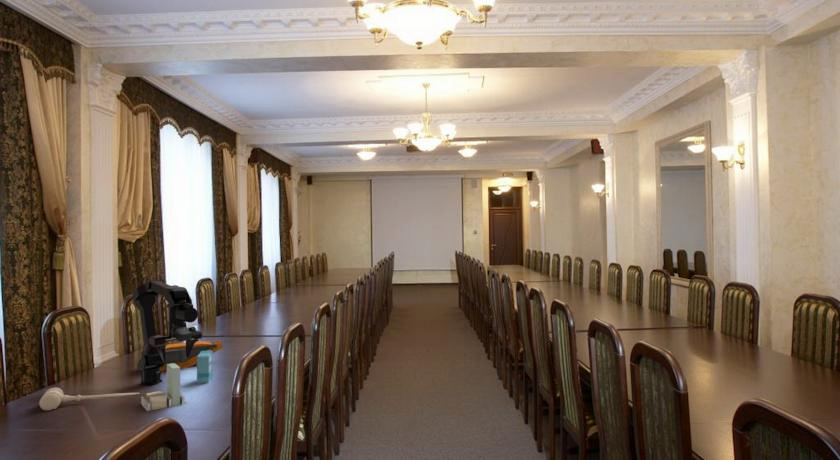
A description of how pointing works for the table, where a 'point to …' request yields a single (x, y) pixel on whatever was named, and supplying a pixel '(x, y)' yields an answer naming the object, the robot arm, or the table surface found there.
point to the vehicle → (178, 353)
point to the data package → (204, 367)
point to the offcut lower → (158, 405)
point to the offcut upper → (156, 397)
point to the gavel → (68, 398)
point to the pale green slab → (173, 383)
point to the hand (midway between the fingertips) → (176, 359)
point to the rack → (146, 405)
